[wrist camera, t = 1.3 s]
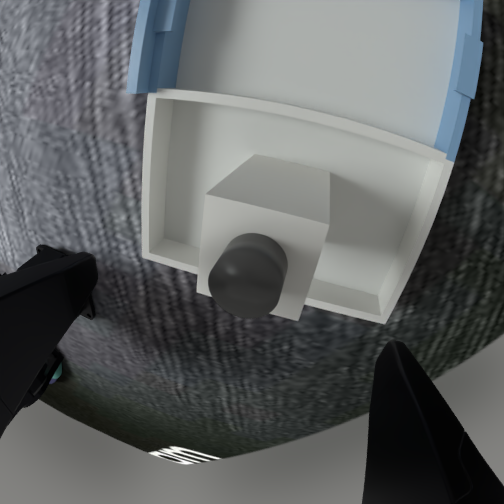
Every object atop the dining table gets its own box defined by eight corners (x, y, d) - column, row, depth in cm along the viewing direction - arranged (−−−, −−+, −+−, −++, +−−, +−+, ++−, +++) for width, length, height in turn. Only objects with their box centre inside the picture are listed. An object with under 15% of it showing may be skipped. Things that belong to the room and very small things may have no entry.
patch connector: (311, 239, 17) (292, 351, 10) (243, 221, 18) (179, 318, 10) (329, 172, 15) (328, 248, 8) (254, 153, 16) (184, 212, 8)
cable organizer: (381, 299, 18) (386, 337, 15) (152, 238, 20) (124, 263, 17) (465, -2, 8) (492, -18, 6) (189, -52, 10) (160, -74, 7)
